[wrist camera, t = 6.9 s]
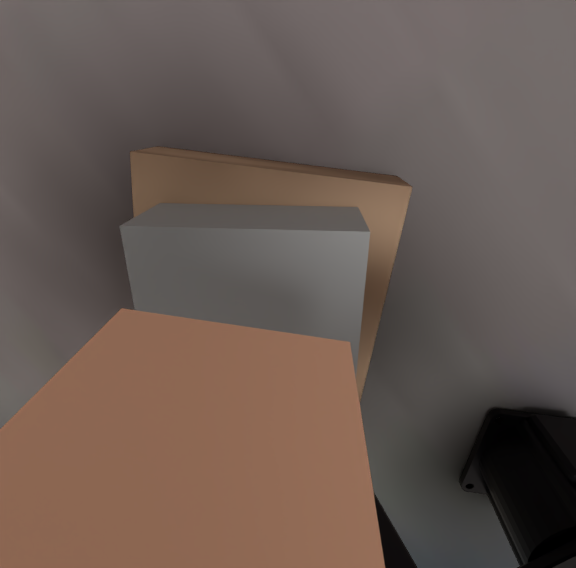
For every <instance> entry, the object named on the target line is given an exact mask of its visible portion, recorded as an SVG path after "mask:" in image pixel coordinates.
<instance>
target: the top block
mask: <svg viewBox="0 0 576 568" xmlns="http://www.w3.org/2000/svg"><path fill="white" fill-rule="evenodd" d="M120 232H121V237H122V243H123V248H124V254H125V259H126V265H127V271H128V276H129V282H130V287H131V293H132V298H133V304H134V310H137V311H143V312H150V313H157V314H164V315H171V316H177V317H184V318H191V319H198V320H205V321H211V322H218V323H225V324H232V325H239V326H245V327H252V328H259V329H266V330H273V331H279V332H286V333H293V334H300V335H307V336H313V337H320V338H327V339H334V340H340V341H347V342H350V346H351V352H352V358H353V365H354V371H355V378H356V373H357V363H358V353H359V342H360V332H361V322H362V312H363V302H364V291H365V281H366V271H367V261H368V250H369V240H370V230H369V228H368V226H367V224H366V222H365V220H364V218H363V216H362V214H361V212H360V210H359V208H358V207H332V206H281V205H231V204H180V203H159V204H157V205H156V206H154V207H152V208H150V209H149V210H147V211H145V212H143V213H141V214H140V215H138V216H136V217H134V218H133V219H131V220H129V221H127V222H126V223H124V224H122V225H120Z"/></svg>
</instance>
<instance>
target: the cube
mask: <svg viewBox="0 0 576 568" xmlns="http://www.w3.org/2000/svg"><path fill="white" fill-rule="evenodd" d="M0 568H385V563H384V557H383V550H382V544H381V538H380V531H379V525H378V518H377V512H376V506H375V499H374V493H373V486H372V480H371V474H370V467H369V461H368V454H367V448H366V442H365V435H364V429H363V422H362V416H361V410H360V403H359V397H358V390H357V384H356V378H355V371H354V365H353V358H352V352H351V346H350V342H347V341H340V340H334V339H327V338H320V337H313V336H307V335H300V334H293V333H286V332H279V331H273V330H266V329H259V328H252V327H245V326H239V325H232V324H225V323H218V322H211V321H205V320H198V319H191V318H184V317H177V316H171V315H164V314H157V313H150V312H143V311H137V310H130V309H123V308H121V309H120V310H119V311H118V312H117V313H116V314H115V315H114V316H113V317H112V318H111V319H110V320H109V321H108V322H107V323H106V324H105V325H104V326H103V327H102V328H101V329H100V330H99V331H98V332H97V333H96V334H95V335H94V336H93V337H92V338H91V339H90V340H89V341H88V342H87V343H86V344H85V345H84V346H83V347H82V348H81V349H80V350H79V351H78V352H77V353H76V354H75V355H74V356H73V357H72V358H71V359H70V360H69V361H68V362H67V363H66V364H65V365H64V366H63V367H62V368H61V369H60V370H59V371H58V372H57V373H56V374H55V375H54V376H53V377H52V378H51V379H50V380H49V381H48V382H47V383H46V384H45V385H44V386H43V387H42V388H41V389H40V390H39V391H38V392H37V393H36V394H35V395H34V396H33V397H32V398H31V399H30V400H29V401H28V402H27V403H26V404H25V405H24V406H23V407H22V408H21V409H20V410H19V411H18V412H17V413H16V414H15V415H14V416H13V417H12V418H11V419H10V420H9V421H8V422H7V423H6V424H5V425H4V426H3V427H2V428H1V429H0Z"/></svg>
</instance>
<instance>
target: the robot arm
mask: <svg viewBox="0 0 576 568" xmlns="http://www.w3.org/2000/svg"><path fill="white" fill-rule="evenodd" d="M498 417H500V418H498ZM496 418H498V419H496ZM459 482H460V485H461V487H462V489H463V490H464V491H467V492H473V493H481V494H487V495H488V497H489V499H490V501H491V504H492V506H493V508H494V510H495V512H496V515H497V517H498V519H499V521H500V523H501V526H502V528H503V530H504V532H505V534H506V537H507V539H508V541H509V543H510V545H511V547H512V550H513V552H514V554H515V556H516V558H517V561H518V563H519V565H520V566H519V567H517V568H576V419H571V418H563V417H556V416H548V415H540V414H533V413H525V412H518V411H510V410H503V409H495V410H492V411H490V412H489V414H488V415H487V418H486V420H485V422H484V425H483V427H482V429H481V432H480V434H479V436H478V438H477V441H476V443H475V445H474V448H473V450H472V452H471V455H470V457H469V459H468V461H467V464H466V466H465V468H464V471H463V473H462V475H461V478H460V480H459ZM373 493H374V492H373ZM374 499H375V506H376V512H377V518H378V525H379V531H380V538H381V544H382V550H383V557H384V563H385V568H417V566H416V564H415V563H414V561H413V559H412V557H411V556H410V554H409V552H408V551H407V549H406V547H405V545H404V544H403V542H402V540H401V538H400V537H399V535H398V533H397V531H396V530H395V528H394V526H393V525H392V523H391V521H390V519H389V518H388V516H387V514H386V512H385V511H384V509H383V507H382V506H381V504H380V502H379V500H378V499H377V497H376V495H375V493H374Z"/></svg>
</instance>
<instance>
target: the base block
mask: <svg viewBox="0 0 576 568" xmlns="http://www.w3.org/2000/svg"><path fill="white" fill-rule="evenodd" d="M130 162H131V180H132V198H133V215H134V217H136V216H138V215H140V214H141V213H143V212H145V211H147V210H149V209H150V208H152V207H154V206H156V205H157V204H159V203H180V204H231V205H281V206H332V207H358V208H359V210H360V212H361V214H362V216H363V218H364V220H365V222H366V224H367V226H368V228H369V230H370V240H369V250H368V261H367V271H366V281H365V291H364V302H363V312H362V322H361V332H360V342H359V353H358V363H357V373H356V384H357V390H358V397H359V403H360V400H361V396H362V392H363V388H364V384H365V380H366V376H367V371H368V367H369V363H370V359H371V355H372V351H373V347H374V343H375V339H376V335H377V330H378V326H379V322H380V318H381V314H382V310H383V306H384V302H385V298H386V294H387V289H388V285H389V281H390V277H391V273H392V269H393V265H394V261H395V257H396V253H397V248H398V244H399V240H400V236H401V232H402V228H403V224H404V220H405V216H406V211H407V207H408V203H409V199H410V195H411V191H412V186H410V185H409V184H408V183H406V182H405V181H403V180H402V179H401V178H399V177H398V176H392V175H384V174H376V173H368V172H360V171H352V170H344V169H336V168H328V167H320V166H312V165H304V164H296V163H288V162H280V161H272V160H264V159H256V158H248V157H240V156H232V155H224V154H216V153H208V152H200V151H192V150H184V149H176V148H168V147H160V146H157V147H152V148H146V149H141V150H136V151H130Z"/></svg>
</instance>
